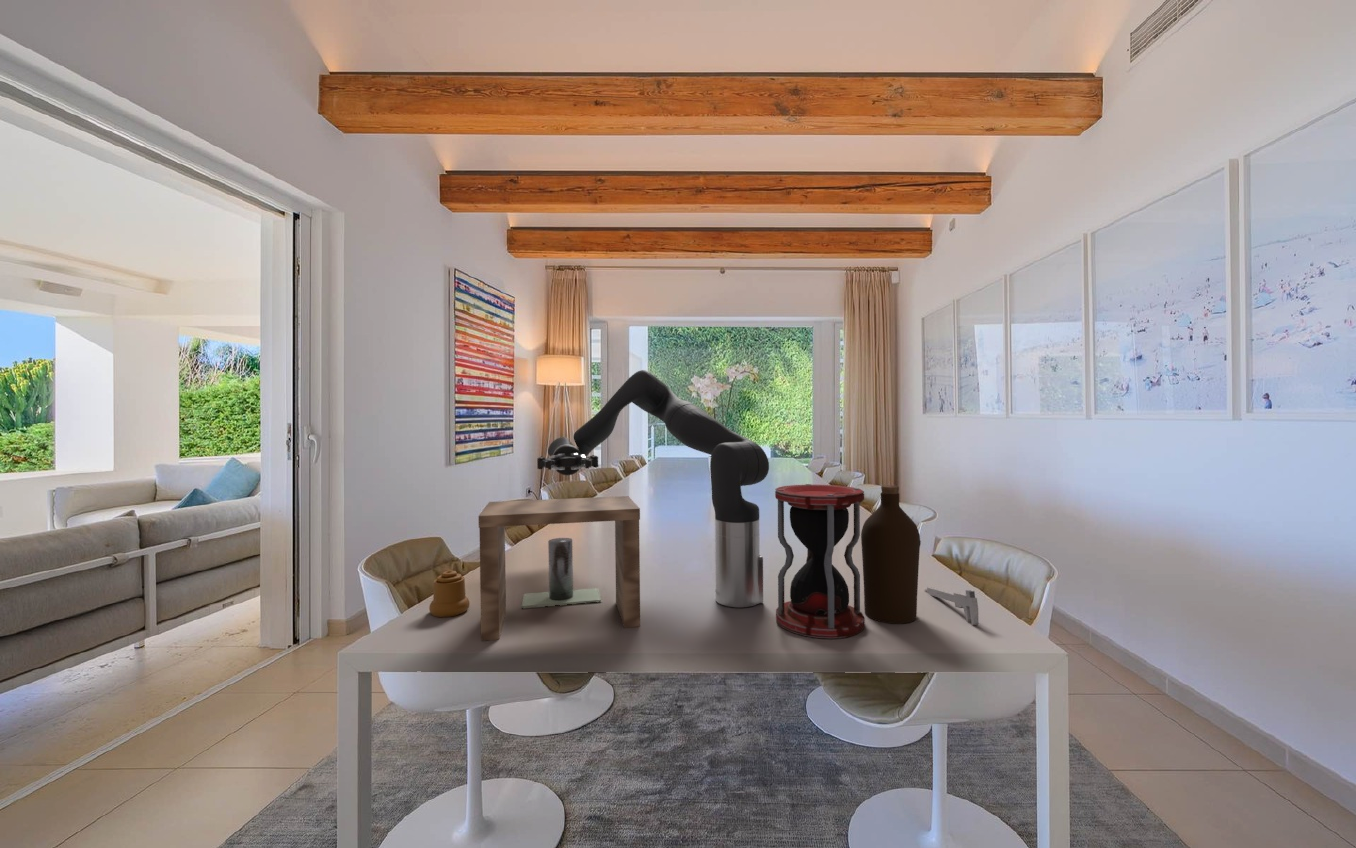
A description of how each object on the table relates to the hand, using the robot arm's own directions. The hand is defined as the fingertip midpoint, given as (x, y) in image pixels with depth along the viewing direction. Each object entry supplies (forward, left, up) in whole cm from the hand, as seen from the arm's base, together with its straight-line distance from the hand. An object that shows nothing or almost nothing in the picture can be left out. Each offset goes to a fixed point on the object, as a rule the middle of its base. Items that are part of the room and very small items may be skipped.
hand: (568, 464), depth 127 cm
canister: (+2, +9, -27) cm, 29 cm away
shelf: (+2, +21, -28) cm, 35 cm away
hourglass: (-45, +34, -28) cm, 63 cm away
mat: (+2, +9, -28) cm, 29 cm away
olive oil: (-60, +34, -28) cm, 75 cm away
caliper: (-74, +33, -28) cm, 86 cm away
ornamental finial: (+24, +11, -28) cm, 39 cm away
